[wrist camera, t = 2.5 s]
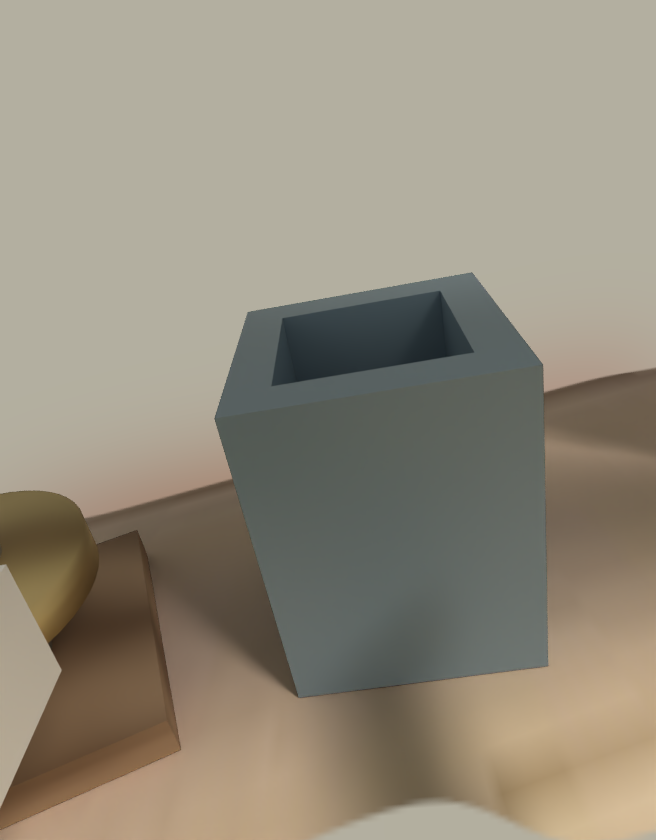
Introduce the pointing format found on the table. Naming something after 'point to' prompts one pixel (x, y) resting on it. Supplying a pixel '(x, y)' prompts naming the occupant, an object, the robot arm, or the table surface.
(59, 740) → the post stand
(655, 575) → the table surface
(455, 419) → the sleeve
